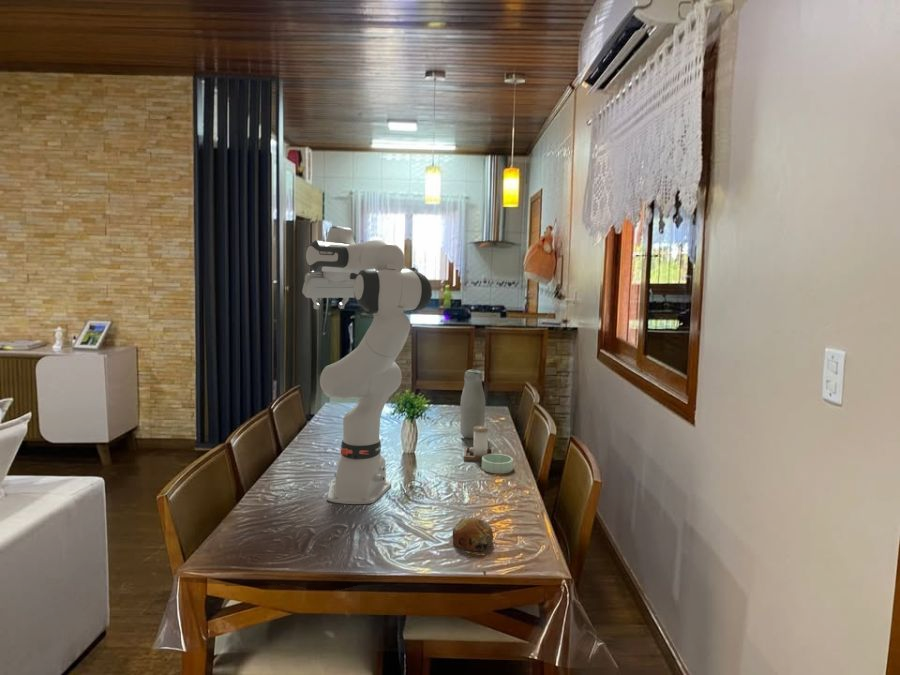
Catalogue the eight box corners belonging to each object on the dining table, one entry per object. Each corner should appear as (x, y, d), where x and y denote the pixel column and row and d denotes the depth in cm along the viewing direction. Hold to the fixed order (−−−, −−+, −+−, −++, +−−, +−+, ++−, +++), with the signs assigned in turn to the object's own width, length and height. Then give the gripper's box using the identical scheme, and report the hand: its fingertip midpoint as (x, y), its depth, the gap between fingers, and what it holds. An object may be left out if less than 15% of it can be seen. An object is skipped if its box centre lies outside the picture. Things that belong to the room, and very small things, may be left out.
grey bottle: (483, 435, 248) (485, 367, 245) (484, 443, 238) (486, 372, 234) (459, 435, 248) (461, 367, 245) (459, 442, 238) (461, 371, 235)
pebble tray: (492, 465, 211) (492, 458, 211) (463, 463, 212) (464, 456, 212) (492, 455, 222) (493, 448, 222) (465, 454, 223) (465, 447, 223)
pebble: (475, 455, 219) (475, 448, 219) (468, 454, 219) (468, 448, 219) (475, 453, 221) (475, 446, 221) (468, 452, 221) (469, 446, 221)
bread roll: (491, 551, 155) (490, 518, 158) (495, 551, 145) (495, 516, 148) (451, 550, 155) (452, 517, 157) (453, 551, 145) (453, 515, 148)
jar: (487, 460, 213) (488, 429, 212) (472, 459, 213) (473, 429, 212) (487, 456, 218) (488, 426, 217) (473, 455, 218) (473, 425, 217)
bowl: (512, 476, 200) (513, 464, 199) (481, 475, 201) (481, 462, 200) (512, 466, 210) (512, 454, 210) (481, 465, 211) (482, 453, 210)
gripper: (309, 274, 202) (303, 312, 207) (364, 275, 213) (358, 311, 219) (302, 267, 206) (297, 305, 211) (357, 268, 218) (351, 304, 223)
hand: (328, 308), depth 215 cm, fingers open, 8 cm apart
